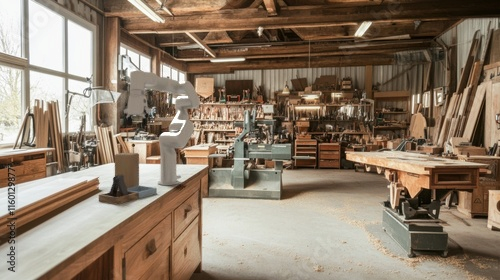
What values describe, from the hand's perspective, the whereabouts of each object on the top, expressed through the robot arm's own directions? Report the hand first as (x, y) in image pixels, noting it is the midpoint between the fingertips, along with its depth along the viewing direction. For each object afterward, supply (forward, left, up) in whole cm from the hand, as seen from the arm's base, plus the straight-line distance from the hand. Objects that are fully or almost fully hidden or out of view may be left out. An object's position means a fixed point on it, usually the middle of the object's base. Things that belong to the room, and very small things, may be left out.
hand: (137, 125), depth 170 cm
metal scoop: (+12, -5, -36) cm, 38 cm away
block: (-2, -10, -36) cm, 37 cm away
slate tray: (+5, +6, -36) cm, 37 cm away
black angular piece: (+18, +6, -36) cm, 41 cm away
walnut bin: (+18, +6, -36) cm, 41 cm away
